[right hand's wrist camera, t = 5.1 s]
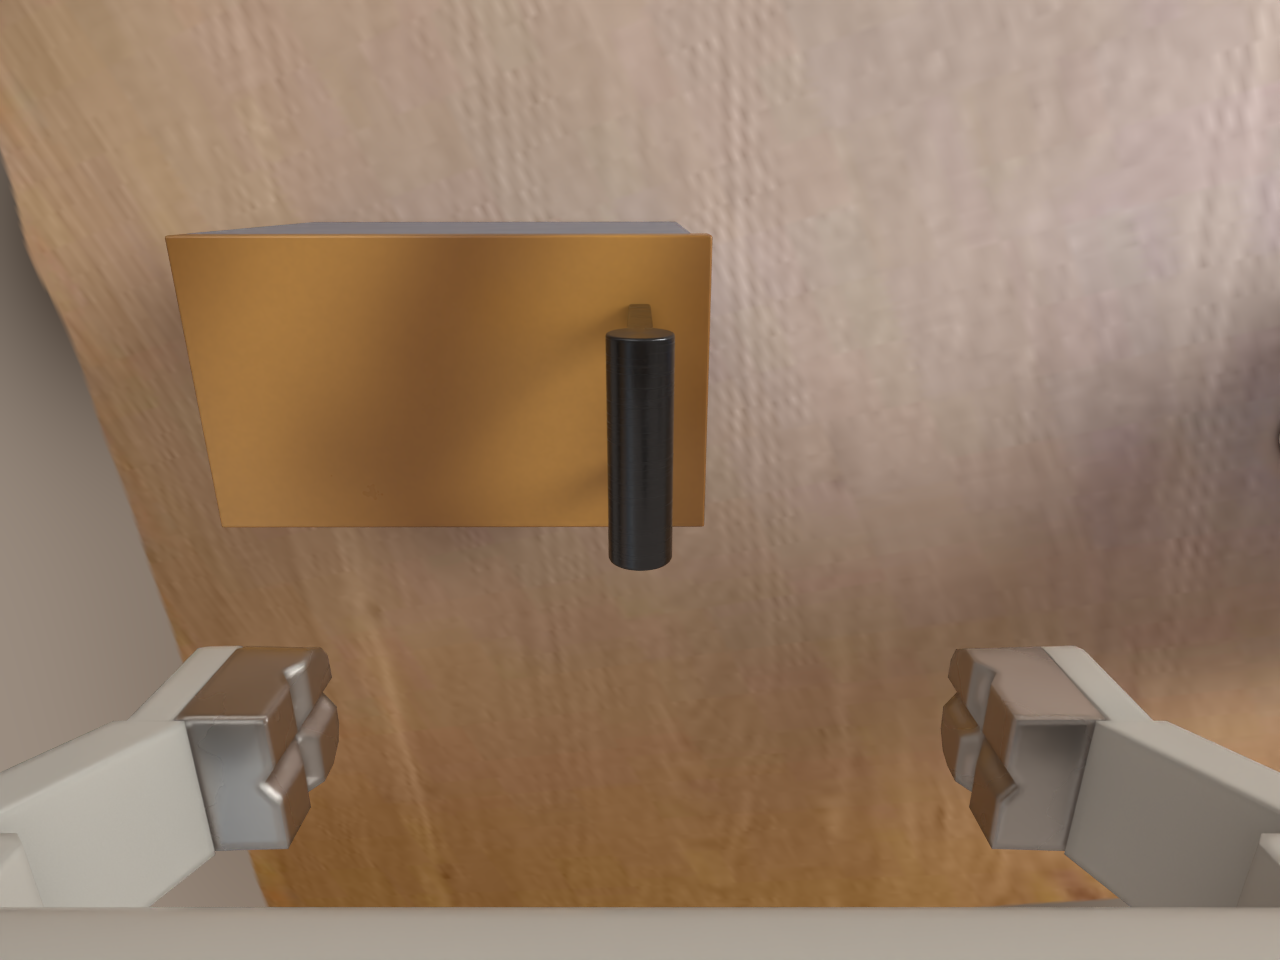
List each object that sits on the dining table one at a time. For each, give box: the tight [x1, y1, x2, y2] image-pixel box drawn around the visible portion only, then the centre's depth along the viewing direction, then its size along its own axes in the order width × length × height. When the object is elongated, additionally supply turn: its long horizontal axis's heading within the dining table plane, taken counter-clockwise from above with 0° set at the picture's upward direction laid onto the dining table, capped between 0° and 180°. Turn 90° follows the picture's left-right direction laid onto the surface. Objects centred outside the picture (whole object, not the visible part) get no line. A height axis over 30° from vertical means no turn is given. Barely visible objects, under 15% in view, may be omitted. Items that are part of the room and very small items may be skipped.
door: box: [165, 234, 712, 571], centre depth 23 cm, size 17×10×8 cm, turn 90°
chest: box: [189, 222, 691, 234], centre depth 32 cm, size 16×10×11 cm, turn 90°
